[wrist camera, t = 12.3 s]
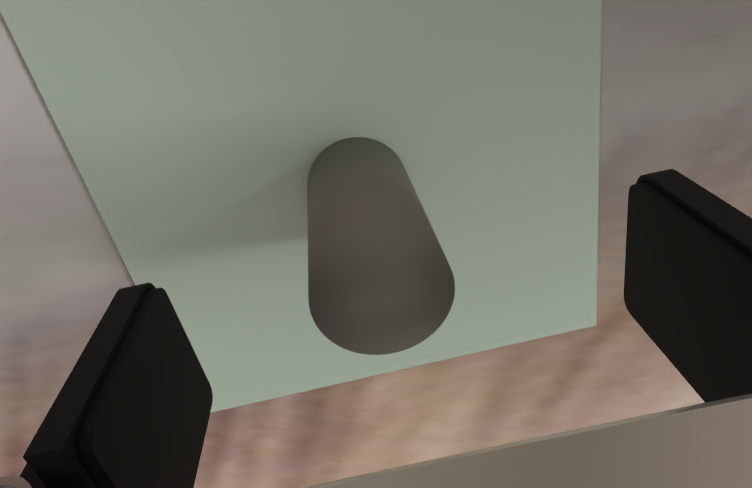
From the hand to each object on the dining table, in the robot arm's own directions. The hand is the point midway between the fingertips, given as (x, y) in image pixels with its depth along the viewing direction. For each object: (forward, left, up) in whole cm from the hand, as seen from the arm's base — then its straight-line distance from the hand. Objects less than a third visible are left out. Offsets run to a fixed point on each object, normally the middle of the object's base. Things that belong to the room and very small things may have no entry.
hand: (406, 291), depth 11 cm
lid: (0, 0, -7) cm, 7 cm away
